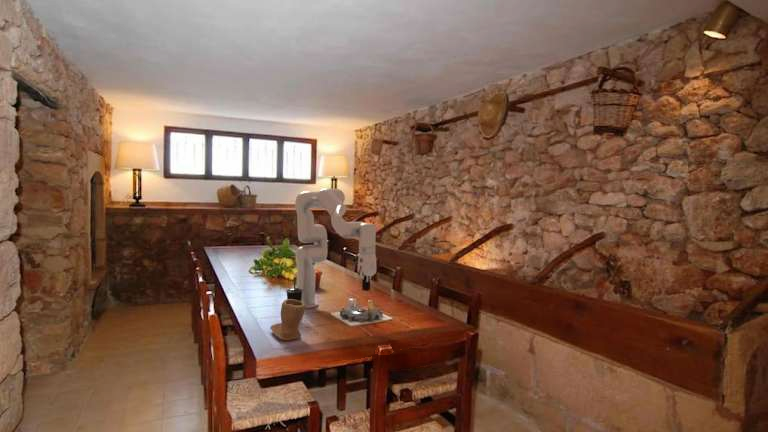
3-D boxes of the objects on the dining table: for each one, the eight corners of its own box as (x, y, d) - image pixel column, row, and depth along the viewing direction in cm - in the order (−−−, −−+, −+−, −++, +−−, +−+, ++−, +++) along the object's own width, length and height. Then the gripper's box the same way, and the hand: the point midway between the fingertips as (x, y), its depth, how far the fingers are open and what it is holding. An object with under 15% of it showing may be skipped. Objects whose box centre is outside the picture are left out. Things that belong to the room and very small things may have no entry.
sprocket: (352, 324, 191) (353, 304, 190) (332, 312, 208) (333, 294, 208) (390, 318, 202) (391, 299, 202) (368, 307, 219) (369, 290, 219)
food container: (294, 285, 267) (294, 268, 266) (319, 284, 272) (320, 268, 271) (296, 291, 252) (297, 273, 251) (323, 290, 257) (324, 273, 256)
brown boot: (308, 339, 172) (309, 303, 171) (279, 343, 166) (280, 306, 166) (296, 328, 185) (297, 294, 185) (269, 332, 180) (270, 297, 179)
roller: (350, 310, 217) (350, 300, 216) (346, 308, 220) (346, 298, 220) (357, 309, 219) (357, 299, 219) (353, 307, 222) (353, 297, 222)
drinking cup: (287, 322, 193) (288, 279, 192) (283, 317, 200) (284, 275, 199) (304, 320, 196) (305, 278, 195) (299, 316, 203) (300, 274, 202)
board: (350, 326, 190) (350, 325, 190) (330, 314, 208) (330, 313, 208) (392, 319, 203) (393, 318, 203) (370, 308, 220) (370, 307, 220)
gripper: (366, 252, 184) (365, 294, 185) (381, 249, 197) (380, 288, 198) (351, 251, 187) (350, 292, 188) (367, 248, 200) (366, 286, 201)
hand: (366, 290), depth 193 cm, fingers closed
